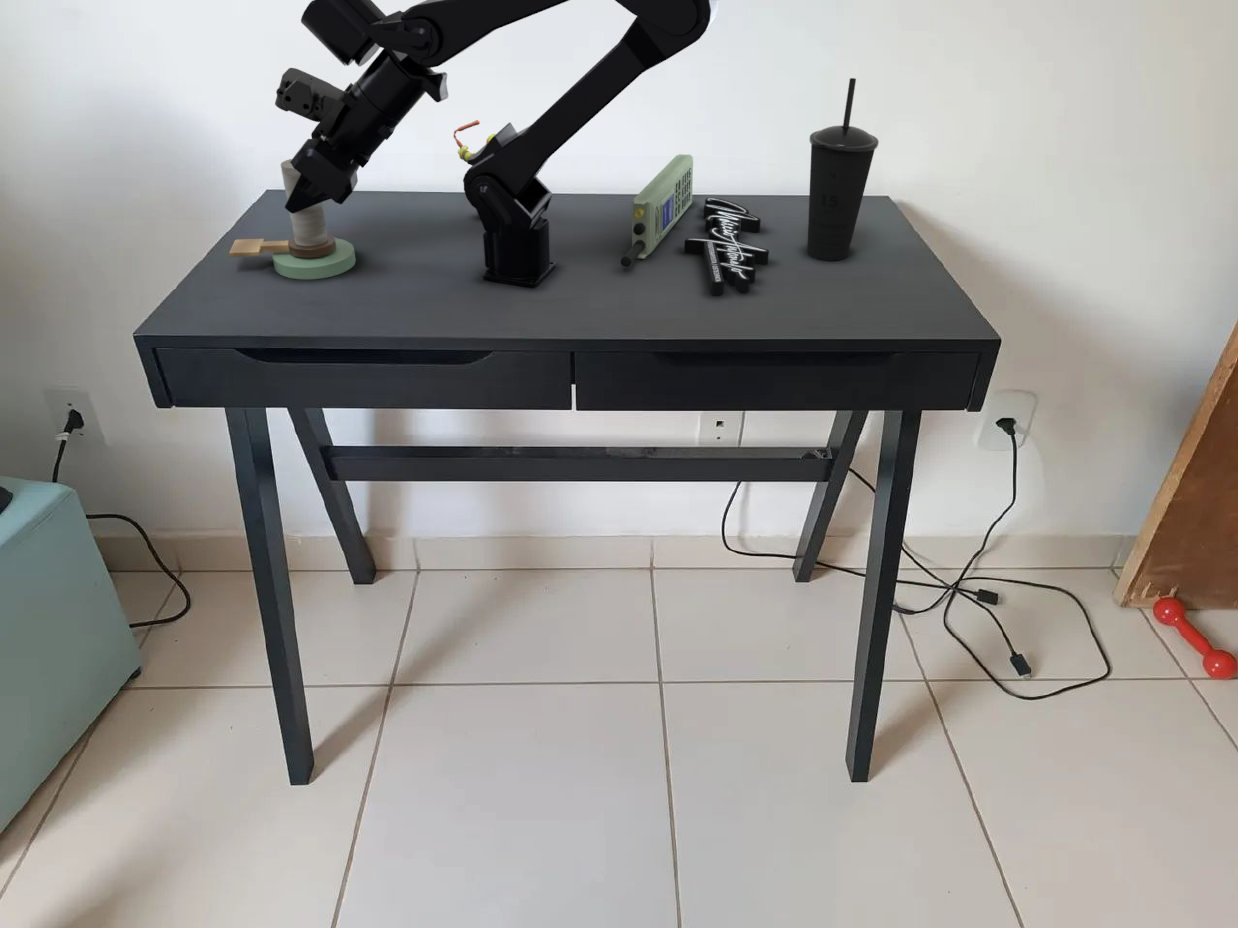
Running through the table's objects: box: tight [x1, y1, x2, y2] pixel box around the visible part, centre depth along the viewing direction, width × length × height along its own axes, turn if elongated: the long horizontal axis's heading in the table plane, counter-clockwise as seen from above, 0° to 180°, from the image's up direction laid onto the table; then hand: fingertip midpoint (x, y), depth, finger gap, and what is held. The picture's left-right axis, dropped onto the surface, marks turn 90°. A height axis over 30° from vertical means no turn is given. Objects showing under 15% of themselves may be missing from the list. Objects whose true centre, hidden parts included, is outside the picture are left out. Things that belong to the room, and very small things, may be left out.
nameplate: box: [683, 197, 770, 297], centre depth 115 cm, size 28×2×10 cm
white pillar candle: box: [229, 158, 336, 258], centre depth 105 cm, size 11×5×10 cm, turn 99°
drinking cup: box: [806, 77, 879, 262], centre depth 108 cm, size 8×8×20 cm
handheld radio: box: [619, 153, 694, 268], centre depth 116 cm, size 7×3×25 cm
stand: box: [272, 237, 356, 281], centre depth 109 cm, size 9×9×2 cm
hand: (292, 204), depth 105 cm, fingers closed on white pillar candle, 4 cm apart
